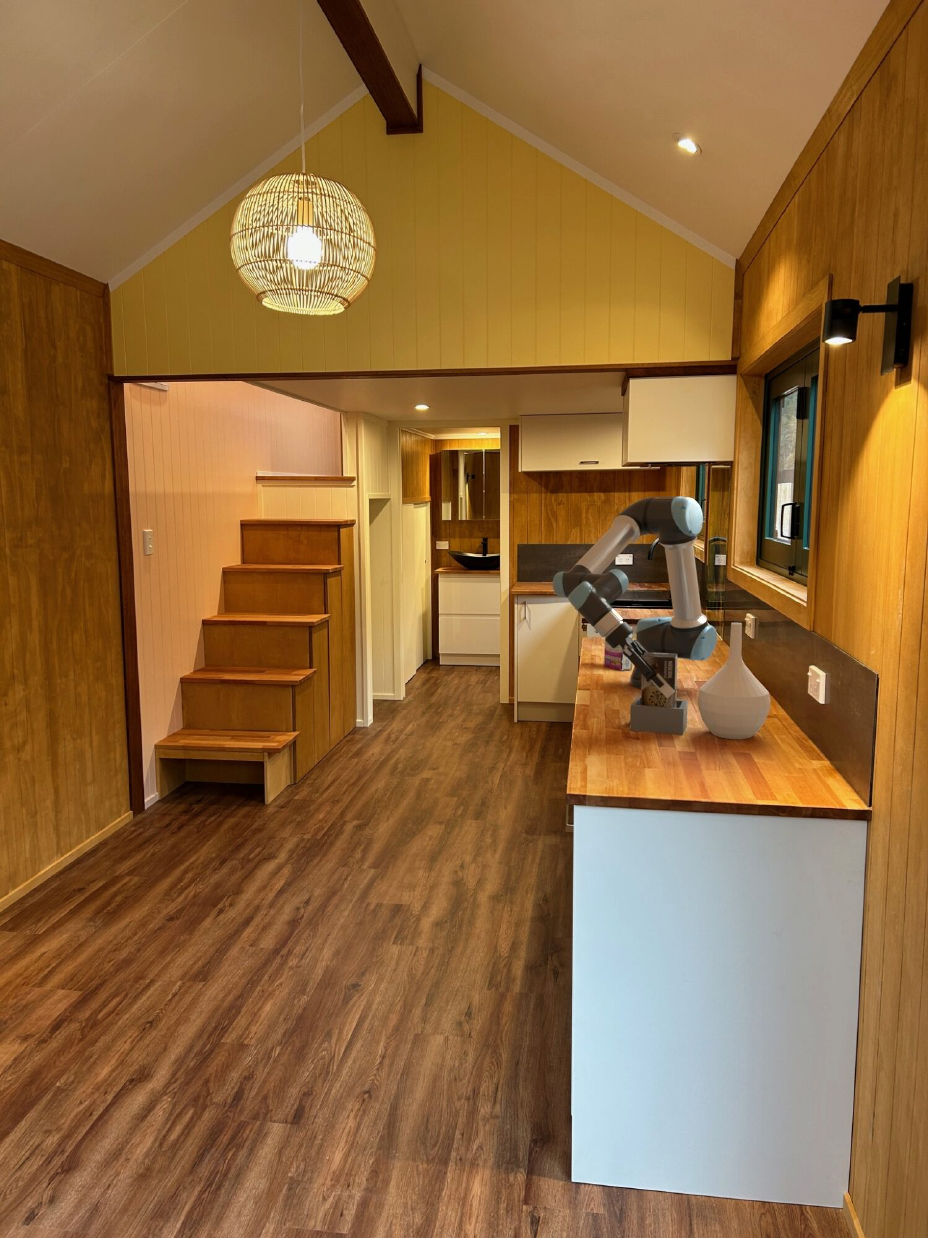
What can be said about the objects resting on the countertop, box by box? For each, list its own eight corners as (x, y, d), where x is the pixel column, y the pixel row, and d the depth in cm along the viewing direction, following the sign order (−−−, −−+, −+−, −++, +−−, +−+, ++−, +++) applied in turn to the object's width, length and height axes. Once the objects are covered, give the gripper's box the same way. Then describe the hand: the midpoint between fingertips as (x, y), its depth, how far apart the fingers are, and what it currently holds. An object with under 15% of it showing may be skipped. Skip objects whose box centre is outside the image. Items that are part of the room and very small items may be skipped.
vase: (745, 724, 238) (749, 617, 234) (783, 741, 220) (788, 627, 216) (684, 728, 234) (687, 619, 230) (717, 746, 216) (722, 629, 212)
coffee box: (676, 711, 235) (678, 653, 233) (674, 716, 229) (676, 657, 227) (643, 708, 238) (644, 651, 236) (639, 713, 232) (641, 655, 230)
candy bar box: (632, 670, 316) (633, 626, 314) (621, 671, 314) (622, 627, 312) (614, 665, 326) (615, 622, 324) (603, 666, 324) (604, 623, 322)
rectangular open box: (636, 721, 241) (636, 696, 240) (686, 725, 237) (687, 700, 236) (630, 730, 231) (630, 705, 230) (682, 735, 226) (683, 709, 226)
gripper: (610, 633, 245) (666, 693, 242) (597, 643, 227) (657, 708, 223) (629, 616, 242) (686, 676, 239) (617, 625, 224) (679, 690, 221)
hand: (672, 692), depth 231 cm, fingers closed on coffee box, 6 cm apart
